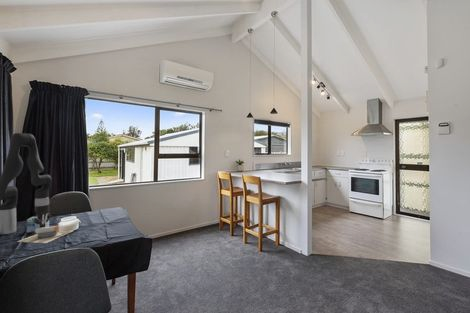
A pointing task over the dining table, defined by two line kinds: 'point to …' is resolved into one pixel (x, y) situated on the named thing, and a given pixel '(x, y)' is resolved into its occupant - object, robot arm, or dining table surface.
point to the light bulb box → (34, 225)
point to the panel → (44, 240)
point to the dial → (47, 231)
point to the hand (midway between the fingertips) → (42, 229)
